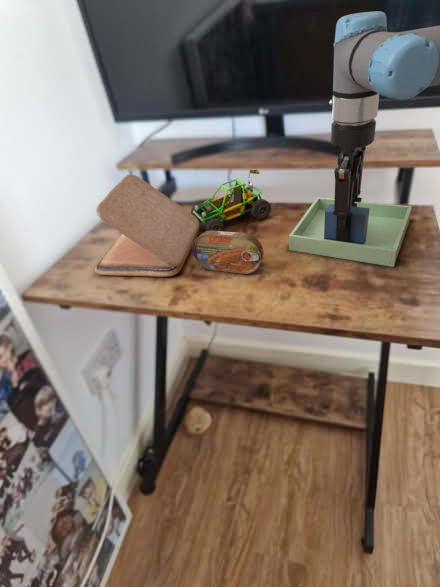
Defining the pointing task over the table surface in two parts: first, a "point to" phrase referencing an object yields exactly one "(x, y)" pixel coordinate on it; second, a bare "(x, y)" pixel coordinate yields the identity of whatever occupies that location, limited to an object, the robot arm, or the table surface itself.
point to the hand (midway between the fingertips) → (345, 236)
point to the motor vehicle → (232, 205)
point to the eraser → (357, 224)
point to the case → (145, 231)
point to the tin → (228, 251)
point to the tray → (377, 249)
